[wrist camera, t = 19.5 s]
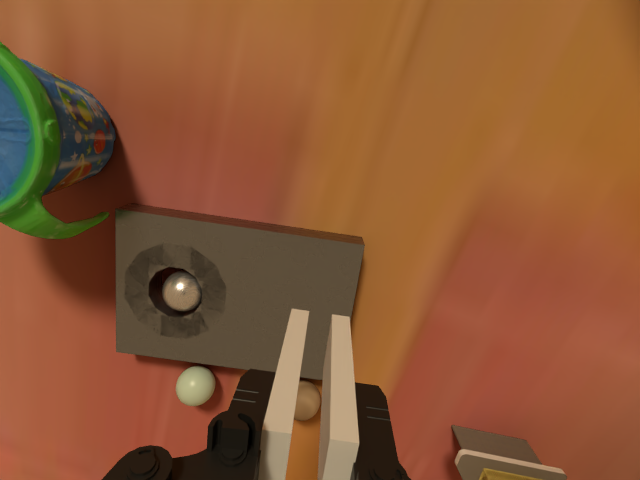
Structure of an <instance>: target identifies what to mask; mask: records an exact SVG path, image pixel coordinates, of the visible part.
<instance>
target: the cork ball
mask: <svg viewBox="0 0 640 480" xmlns="http://www.w3.org/2000/svg"><path fill="white" fill-rule="evenodd" d="M320 402H321V398H320V393H319V391H318V389H317V387H316V386H315V385H314V384H313V383H311V382H309V381H307V380H299V386H298V393H297V400H296V407H295V414H294V419H295V420H299V421H304V420H308V419H310V418H312V417H313V416H314V415H315V414H316V413H317V411H318V409H319V407H320Z"/></svg>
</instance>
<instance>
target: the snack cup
mask: <svg viewBox="0 0 640 480" xmlns="http://www.w3.org/2000/svg"><path fill="white" fill-rule="evenodd" d="M115 139H116V135H115V129H114V128H113V126H112V124H111V121H110V116H109V115H108V113H107V111H106V110H105V109H104V107H103V106H102V105H101V104H100V103H99V101H97V100H96V99H95V98H94V96H93V95H92V94H91V93H89V92H88V91H87V90H86V89H83V88H81V87H79V86H77V85H76V84H74V83H73V82H71V81H69V80H66V79H64V78H62V77H60V76H58V75H56V74H54V73H52V72H50V71H47V70H45V69H43V68H41V67H39V66H37V65H35V64H33V63H30V62H28V61H25V60H23V59H19V58H18V57H17V56H16V55H14V54H13V53H12V52H11V51H10V50H9V49H8V48H7V47H6V46H5V45H3V44H2V43H1V42H0V222H2V223H3V224H5V225H7V226H9V227H11V228H12V229H15V230H17V231H19V232H23V233H25V234H28V235H31V236H35V237H40V238H46V239H65V238H70V237H74V236H75V235H78V234H80V233H82V232H83V231H85V230H87V229H89V228H91V227H93V226H95V225H97V224H99V223H100V222H102V221H103V220H105V219H106V218H107V217H108V216H109V213H108V212H101V213H99V214H98V215H96V216H95V217H93V218H89V219H85V220H80V221H75V222H71V223H68V224H66V223H64V222H62V221H60V220H59V219H57V218H55V217H54V216H53V215H51V214H50V213H49V212H48V211H47V210H46V209H45V208H44V206H43V203H42V199H41V198H42V196H43V195H46V194H49V193H52V192H54V191H57V190H60V189H62V188H65V187H67V186H70V185H72V184H75V183H77V182H79V181H81V180H84V179H87V178H89V177H91V176H94V175H96V174H97V173H98V172H100V171H101V169H102V168H103V167H104V166H105V165H106V163H107V162H108V160H109V159H110V157H111V155H112V152H113V145H114V141H115Z"/></svg>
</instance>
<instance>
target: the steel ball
mask: <svg viewBox="0 0 640 480" xmlns="http://www.w3.org/2000/svg"><path fill="white" fill-rule="evenodd" d="M162 296H163V299H164V301H165V303H166V304H167V305H168V306H169V307H170V308H172V309H174V310H177V311H189V310H192V309H194V308H195V307H197V306H198V305H199V304H200V303H201V302H202V288H201V286H200V284H199V283H198V281H197V279H196V277H195V276H193V275H192V274H190V273H189V272H187V271H186V270H183V271H178V272H175V273H173V274H172V275H170V276H169V277H168V278H167V279H166V281H165V282H164V285H163V288H162Z"/></svg>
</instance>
